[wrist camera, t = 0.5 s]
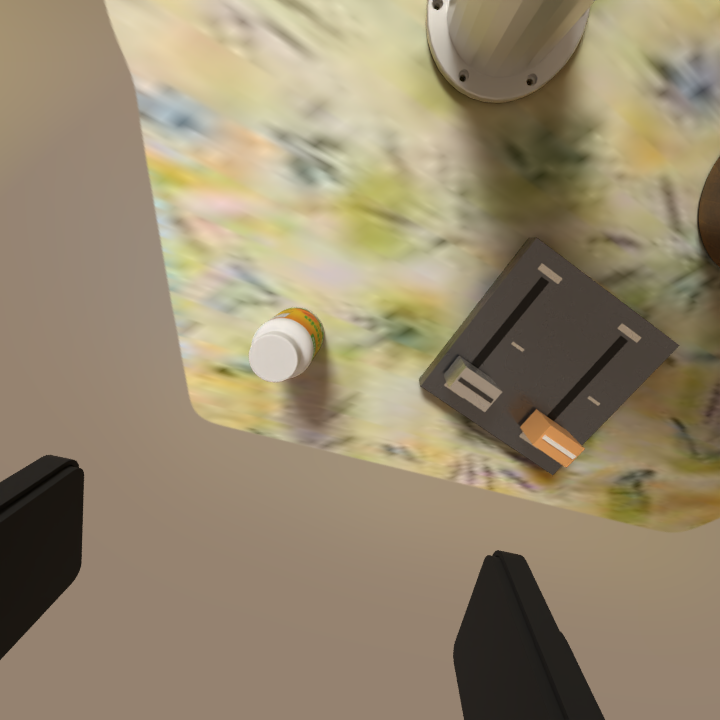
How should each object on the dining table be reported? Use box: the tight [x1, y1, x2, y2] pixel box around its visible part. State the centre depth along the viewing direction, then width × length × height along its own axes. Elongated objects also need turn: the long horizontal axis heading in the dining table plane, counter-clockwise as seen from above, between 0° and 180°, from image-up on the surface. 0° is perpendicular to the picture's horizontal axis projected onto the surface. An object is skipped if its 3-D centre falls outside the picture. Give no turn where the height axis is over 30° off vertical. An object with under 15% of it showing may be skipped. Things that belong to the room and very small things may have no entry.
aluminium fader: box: [444, 356, 502, 412], centre depth 37 cm, size 2×4×4 cm, turn 56°
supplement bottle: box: [249, 307, 324, 382], centre depth 36 cm, size 5×5×10 cm
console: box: [419, 238, 679, 475], centre depth 39 cm, size 17×17×2 cm
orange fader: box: [520, 409, 585, 468], centre depth 38 cm, size 2×4×4 cm, turn 56°
